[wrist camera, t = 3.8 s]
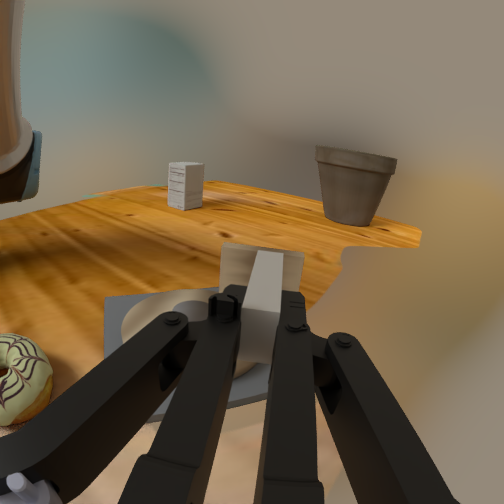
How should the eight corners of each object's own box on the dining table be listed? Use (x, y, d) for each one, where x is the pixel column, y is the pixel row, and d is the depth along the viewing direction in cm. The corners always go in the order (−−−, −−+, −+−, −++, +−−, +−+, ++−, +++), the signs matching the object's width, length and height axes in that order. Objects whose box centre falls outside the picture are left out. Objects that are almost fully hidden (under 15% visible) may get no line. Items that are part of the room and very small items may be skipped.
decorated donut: (19, 454, 13) (-3, 427, 11) (-46, 399, 14) (-64, 370, 12) (75, 377, 22) (65, 347, 21) (7, 344, 23) (-3, 316, 22)
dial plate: (106, 303, 34) (104, 294, 34) (243, 290, 42) (244, 282, 41) (111, 426, 18) (107, 417, 18) (319, 382, 26) (322, 373, 26)
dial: (96, 360, 23) (75, 261, 20) (155, 288, 37) (153, 212, 34) (284, 402, 22) (309, 298, 18) (287, 308, 36) (300, 229, 32)
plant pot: (295, 217, 84) (305, 141, 76) (318, 205, 105) (326, 145, 97) (382, 238, 74) (397, 158, 66) (386, 221, 95) (397, 159, 87)
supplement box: (185, 202, 89) (187, 161, 84) (202, 207, 85) (205, 163, 81) (166, 206, 83) (168, 162, 79) (183, 211, 79) (185, 164, 75)
